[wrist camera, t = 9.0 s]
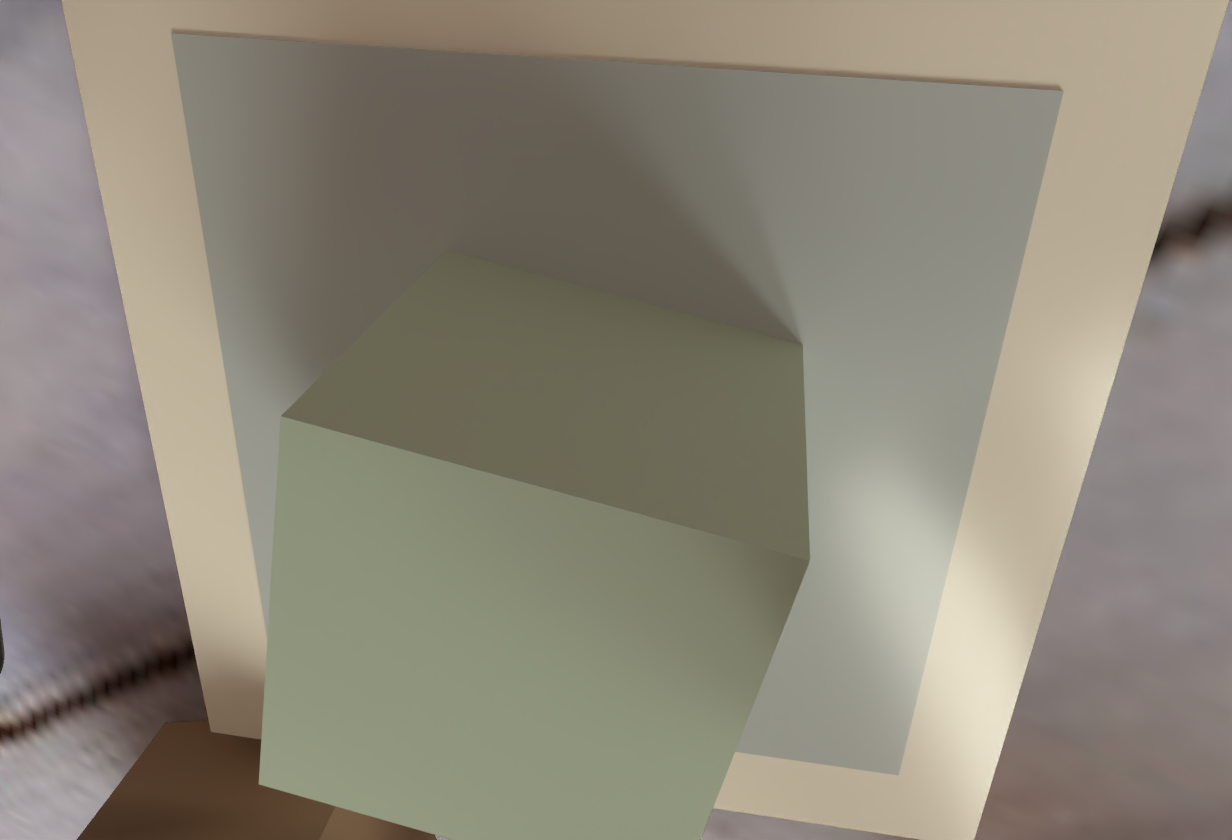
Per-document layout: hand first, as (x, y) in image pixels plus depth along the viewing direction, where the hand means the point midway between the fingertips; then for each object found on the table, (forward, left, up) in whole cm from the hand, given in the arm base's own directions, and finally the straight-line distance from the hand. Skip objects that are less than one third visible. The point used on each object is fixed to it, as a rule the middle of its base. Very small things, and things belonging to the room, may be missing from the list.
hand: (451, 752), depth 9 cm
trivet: (0, 0, -7) cm, 7 cm away
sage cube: (0, 0, -6) cm, 6 cm away
